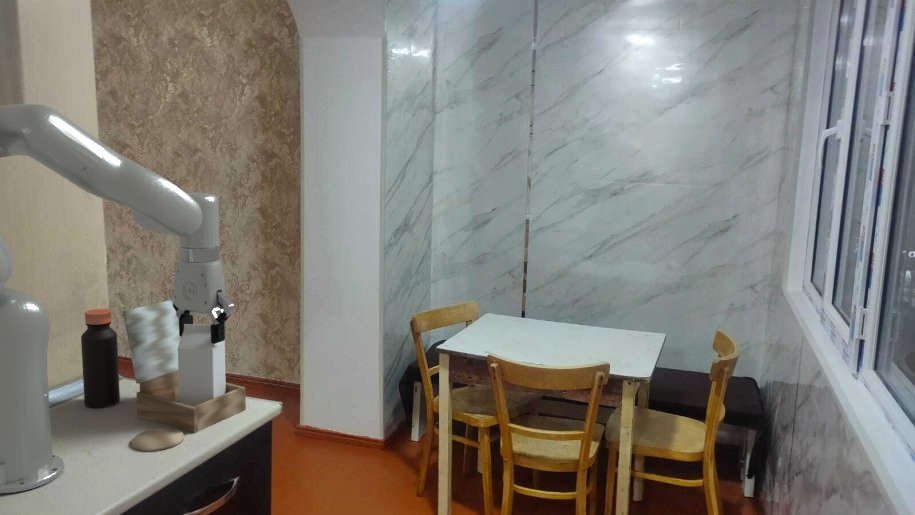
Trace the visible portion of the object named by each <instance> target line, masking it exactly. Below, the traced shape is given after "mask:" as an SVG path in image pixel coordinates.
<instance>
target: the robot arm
mask: <svg viewBox="0 0 915 515" xmlns="http://www.w3.org/2000/svg"><path fill="white" fill-rule="evenodd" d="M15 156H26V157H29V158H31V159H33V160H35V161H36V162H38V163H40V164H41V165H42V166H45V167H46V168H48V169H49V170H51V171H53V172H54V173H56V174H57V175H59V176H61V177H62V178H64V179H66V180H67V181H69V182H70V183H72V184H73V185H74V186H76V187H78V188H79V189H80V190H83V191H85V192H86V193H88V194H91V195H93V196H95V197H97V198H100V199H102V200H107V201H110V202H114V203H116V204H120V205H123V206H124V207H125V206H126V207H128V208H131V209H132V217H133V219H134V221H135V222H136V224H137V225H138V226H139V227H140V228H142V229H144V230H145V231H148V232H153V233H158V234H165V235H169V236H170V235H171V236H175V237H178V242H179V246H178V252H179V259H178V260H177V261H176V265H175V272H174V284H173V292H171V293H170V294H169V296H168V297H169V300H171V302H172V304H173V308H174V309H175V311H176V312H177V313H176V316H177V317H179V336H181V337H182V334H183V331H184V324H194V316H193V314H192V312H194V313H197V314H198V313H199V314H203V315H204V314H208V315H209V318H210V319H211V320H210V321H211V322H212V323H211V324H210V325H211V343H213V344H216V343H219V342H222V341H224V340H225V341H226V327H225V326H226V325H225V323H227V321H228V319H229V318H230V317H231V314H232V313H233V311H234V308H235V304H234V303H233V302H232V301H231V300H230V299H229V298H228V297H227V296H226V283H225V277H224V276H225V275H224V270H223V266H222V265H223V264H222V262H221V260H220V259H221V257H220V255H221V254H220V252H221V251H220V215H219V206H220V205H219V198H218V197H217V195H215V194H213V193H210V192H198V191H197V192H186V191H184V190H183V189H181V188H180V187H179V186H177V185H176V184H174V183H173V182H172V181H170V180H168V179H166V178H165V177H164V176H162V175H160V174H157V173H156V172H154V171H152V170H150V169H149V168H146V167H144V166H142V165H141V164H139V163H137V162H136V161H134V160H132V159H130V158H128V157H126V156H124V155H122V154H120V153H118V152H117V151H115V150H114V149H113V148H111V147H109V146H108V145H106V144H105V143H104V142H102V141H101V140H99V139H98V138H96V137H95V136H93V135H92V134H91V133H89V132H88V131H87V130H85V129H84V128H82V127H81V126H80V125H78V124H77V123H75V122H74V121H73V120H71V119H70V118H68V117H67V116H65V114H62V113H61V112H59V111H58V110H56V109H54V108H53V107H50V106H47V105H44V104H43V105H42V104H37V103H34V104H31V103H30V104H29V103H13V104H4V105H0V158H8V157H15ZM13 270H14V259H13V256H12V253H11V250H10V248H9V247H8V245H7V243H6V242H5V240H4V238H3V235H2V234H1V233H0V494H13V493H19V492H25V491H28V490H32V489H36V488H38V487H41V486H43V485H46V484H48V483H50V482H52V481H53V480H55V479H56V478H58V477H59V476H60V475H61V474H62V473H63V471H64V469H65V463H64V460H63V458H62V457H60V456H58V455H57V454H53V444H52V441H53V440H52V427H51V426H52V424H51V410H50V396H49V395H50V394H49V392H50V391H49V380H48V363H47V362H48V345H49V340H50V332H51V331H50V328H51V322H50V317H49V316H50V315H49V314H48V312H47V309H46V308H45V306H44V305H43V304H42V303H41V302H40V301H39V300H38V299H36V298H35V297H33V296H32V295H30V294H28V293H25V292H22V291H20V290H16V289H13V288H10V287H7V285H6V283H7V282H8V281H9V280H10V278H11V276H12V275H13ZM216 313H217V314H216ZM217 315H218V316H217Z"/></svg>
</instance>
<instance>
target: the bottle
mask: <svg viewBox="0 0 915 515" xmlns="http://www.w3.org/2000/svg"><path fill="white" fill-rule="evenodd" d="M84 321H85V326H86V328H87V329H86V330H85V331H84V332H83V333H82V334H81V336H80V344H81V359H82V381H83V398H84V405H85V407H87V408H88V407H89V408H91V409H92V408H94V409H100V408H101V409H102V408H107V407H112V406H114V405H116V404H118V403H119V402H120V400H121V392H120V371H119V351H118V349H119V348H118V333H117V332H116V331H115V329H113V328H112V327H111V324H112V310H110V309H107V308H106V309H105V308H96V309H95V308H94V309H90V310H86V311H85V312H84Z"/></svg>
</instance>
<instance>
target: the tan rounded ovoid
mask: <svg viewBox="0 0 915 515" xmlns="http://www.w3.org/2000/svg"><path fill="white" fill-rule="evenodd" d="M152 395H154V396H158V397H161V398H165V399H169V400H172V401H175V389H173V388H168V387H165V388H158V389H155V390H153V391H152Z"/></svg>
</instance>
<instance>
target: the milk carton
mask: <svg viewBox="0 0 915 515" xmlns="http://www.w3.org/2000/svg"><path fill="white" fill-rule="evenodd" d="M178 375H179V403H183V404H186V405H190V406H197V405H199V404H202V403H204V402H206V401H209V400H211V399H214V398H216V397H218V396H221V395H223V394H226V339H225V340H224V341H222V342H219V343H216V344H213V343H211V324H196V323H193V324H184V331H183V334H182V337H181V340H180V343H179V346H178Z"/></svg>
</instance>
